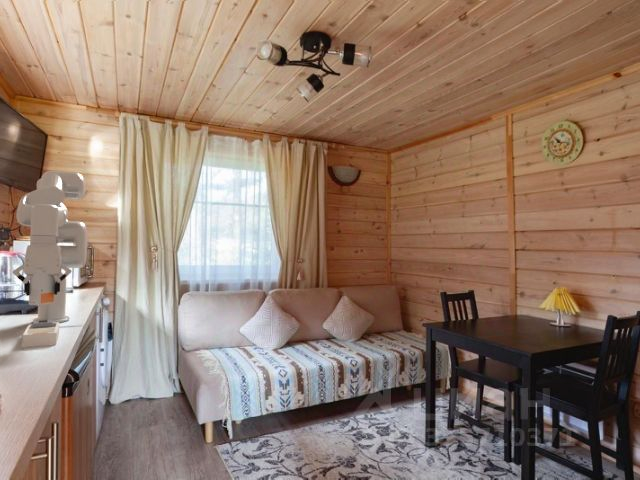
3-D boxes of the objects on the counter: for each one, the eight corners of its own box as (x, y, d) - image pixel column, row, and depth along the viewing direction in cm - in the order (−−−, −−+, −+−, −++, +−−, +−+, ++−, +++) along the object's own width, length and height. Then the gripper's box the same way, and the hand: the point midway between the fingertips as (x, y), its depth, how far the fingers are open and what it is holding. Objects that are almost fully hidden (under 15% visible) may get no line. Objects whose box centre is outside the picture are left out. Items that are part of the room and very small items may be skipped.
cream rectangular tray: (28, 335, 140) (28, 323, 140) (58, 333, 144) (59, 321, 145) (22, 347, 125) (22, 334, 125) (56, 344, 130) (56, 331, 130)
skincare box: (39, 305, 127) (40, 268, 128) (28, 305, 128) (29, 268, 128) (55, 303, 133) (56, 267, 134) (44, 302, 134) (45, 267, 134)
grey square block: (34, 333, 139) (34, 319, 139) (52, 331, 142) (53, 317, 142) (32, 336, 135) (33, 321, 135) (51, 335, 137) (52, 320, 137)
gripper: (74, 242, 139) (73, 292, 139) (12, 240, 130) (11, 294, 130) (74, 242, 132) (72, 294, 132) (9, 240, 123) (7, 297, 123)
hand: (42, 294), depth 131 cm, fingers closed on skincare box, 7 cm apart
